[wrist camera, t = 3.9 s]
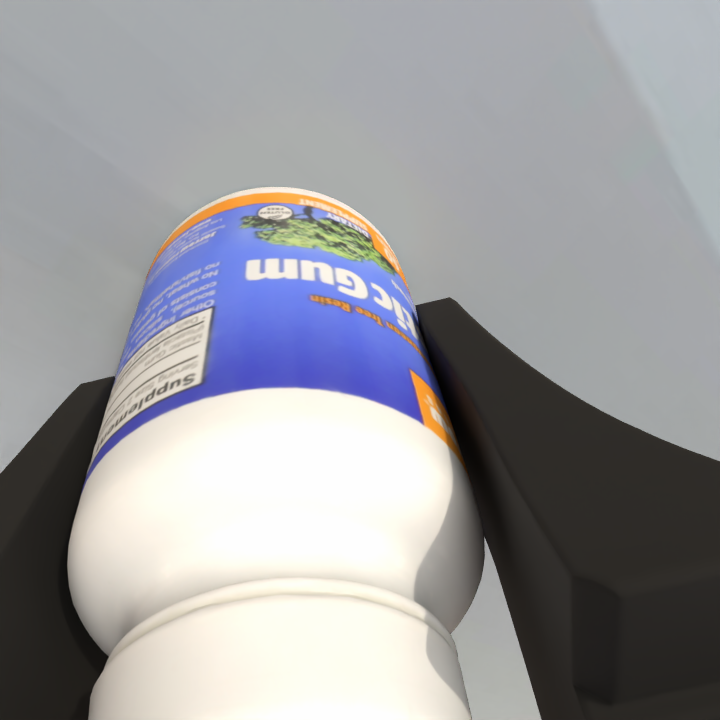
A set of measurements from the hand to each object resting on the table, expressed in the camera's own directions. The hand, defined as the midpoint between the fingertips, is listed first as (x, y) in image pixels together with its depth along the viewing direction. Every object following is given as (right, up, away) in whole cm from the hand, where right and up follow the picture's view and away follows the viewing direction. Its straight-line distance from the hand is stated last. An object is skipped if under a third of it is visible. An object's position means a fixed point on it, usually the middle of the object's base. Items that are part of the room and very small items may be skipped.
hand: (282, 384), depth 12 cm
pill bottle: (0, +2, +3) cm, 3 cm away
